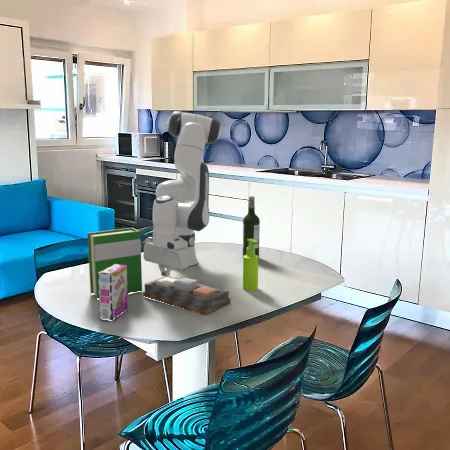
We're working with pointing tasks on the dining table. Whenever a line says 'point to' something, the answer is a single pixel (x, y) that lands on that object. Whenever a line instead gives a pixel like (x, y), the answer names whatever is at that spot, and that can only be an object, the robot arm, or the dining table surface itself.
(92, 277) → the hardback book
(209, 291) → the terracotta key
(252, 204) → the wine bottle
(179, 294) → the compartment tray
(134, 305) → the dining table surface
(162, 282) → the cream key
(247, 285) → the soap dispenser
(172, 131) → the robot arm
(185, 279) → the grey key
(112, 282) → the candy bar box
